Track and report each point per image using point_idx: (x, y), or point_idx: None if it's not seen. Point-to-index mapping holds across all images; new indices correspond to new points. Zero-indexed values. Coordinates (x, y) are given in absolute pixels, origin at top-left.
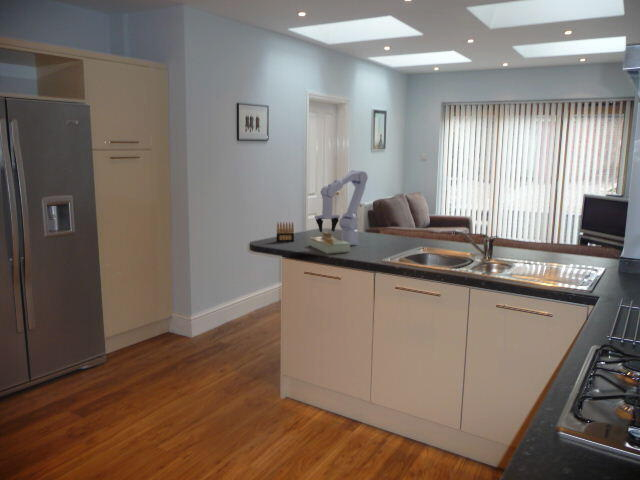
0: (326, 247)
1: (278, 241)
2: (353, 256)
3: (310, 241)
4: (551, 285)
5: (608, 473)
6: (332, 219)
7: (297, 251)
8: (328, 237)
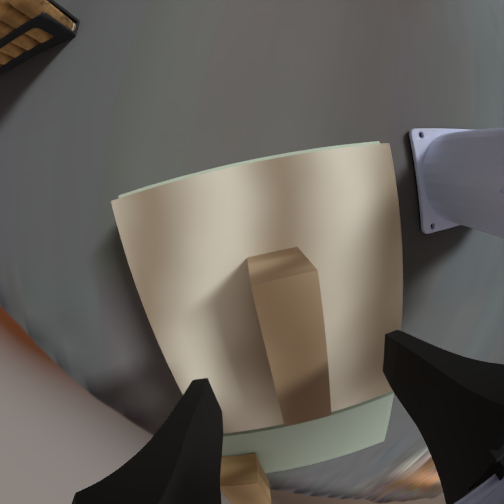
0: None
1: (1, 72)
2: (337, 460)
3: None
4: None
5: None
6: (488, 453)
7: (76, 371)
8: (254, 484)
